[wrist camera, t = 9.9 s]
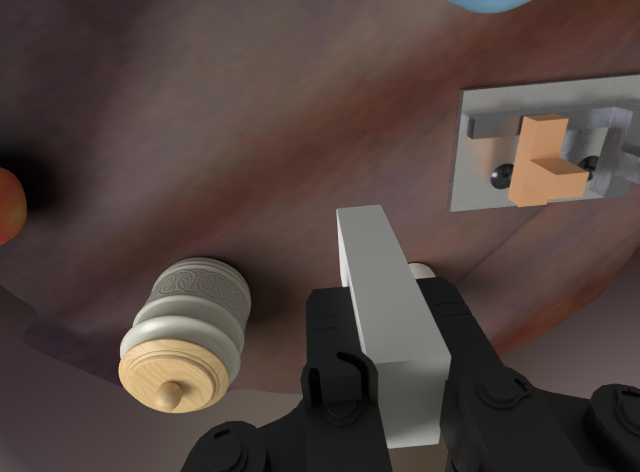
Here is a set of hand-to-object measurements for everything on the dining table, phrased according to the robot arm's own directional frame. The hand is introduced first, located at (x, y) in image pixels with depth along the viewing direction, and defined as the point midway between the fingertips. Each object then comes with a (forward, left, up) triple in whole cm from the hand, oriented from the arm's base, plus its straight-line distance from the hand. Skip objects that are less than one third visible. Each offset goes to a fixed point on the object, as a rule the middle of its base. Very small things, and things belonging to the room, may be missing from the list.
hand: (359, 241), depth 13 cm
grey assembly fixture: (+7, +25, -29) cm, 39 cm away
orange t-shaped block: (+7, +22, -28) cm, 36 cm away
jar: (+24, -18, -30) cm, 42 cm away
